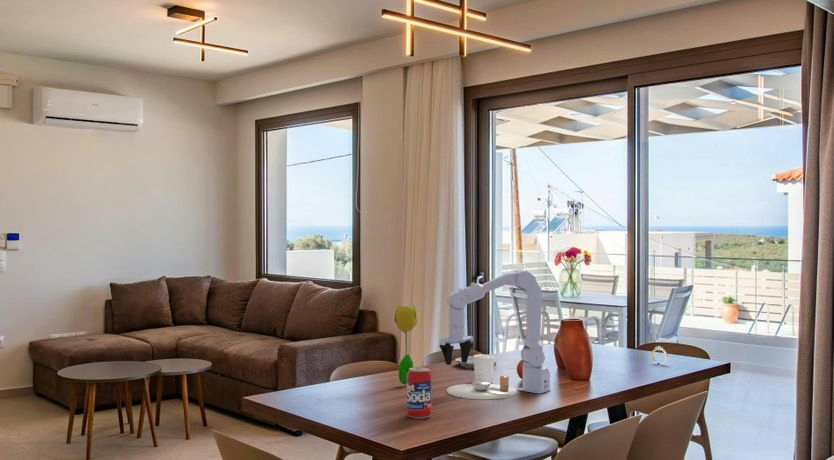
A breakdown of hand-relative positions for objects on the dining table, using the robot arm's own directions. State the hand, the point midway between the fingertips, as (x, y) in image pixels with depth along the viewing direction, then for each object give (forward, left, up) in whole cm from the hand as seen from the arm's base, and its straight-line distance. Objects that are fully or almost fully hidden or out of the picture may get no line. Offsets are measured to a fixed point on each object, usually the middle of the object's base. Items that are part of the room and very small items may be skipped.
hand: (456, 363), depth 273 cm
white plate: (-6, -7, -10) cm, 14 cm away
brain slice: (+27, -47, -11) cm, 55 cm away
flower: (+21, +4, -11) cm, 24 cm away
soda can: (-14, +36, -11) cm, 40 cm away
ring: (-29, -106, -11) cm, 110 cm away
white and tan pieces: (-10, -7, -9) cm, 15 cm away
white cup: (+4, -22, -11) cm, 25 cm away
